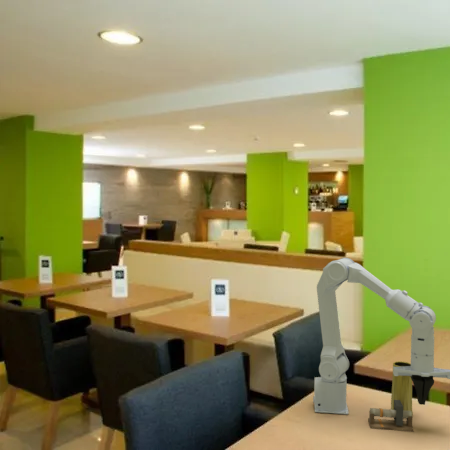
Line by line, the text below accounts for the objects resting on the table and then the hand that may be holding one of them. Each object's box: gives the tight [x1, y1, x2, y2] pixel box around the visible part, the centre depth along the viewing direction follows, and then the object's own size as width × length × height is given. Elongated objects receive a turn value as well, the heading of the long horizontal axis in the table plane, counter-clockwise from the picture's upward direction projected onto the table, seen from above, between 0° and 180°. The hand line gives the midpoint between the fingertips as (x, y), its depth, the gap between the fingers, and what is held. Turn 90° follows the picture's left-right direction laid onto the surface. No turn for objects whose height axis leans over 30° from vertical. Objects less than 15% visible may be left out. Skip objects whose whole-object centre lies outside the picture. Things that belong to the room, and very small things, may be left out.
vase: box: [390, 360, 414, 416], centre depth 142 cm, size 6×6×14 cm
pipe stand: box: [367, 407, 414, 432], centre depth 134 cm, size 11×5×4 cm, turn 81°
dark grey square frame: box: [393, 400, 404, 426], centre depth 134 cm, size 2×4×5 cm, turn 171°
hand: (421, 403), depth 133 cm, fingers closed
